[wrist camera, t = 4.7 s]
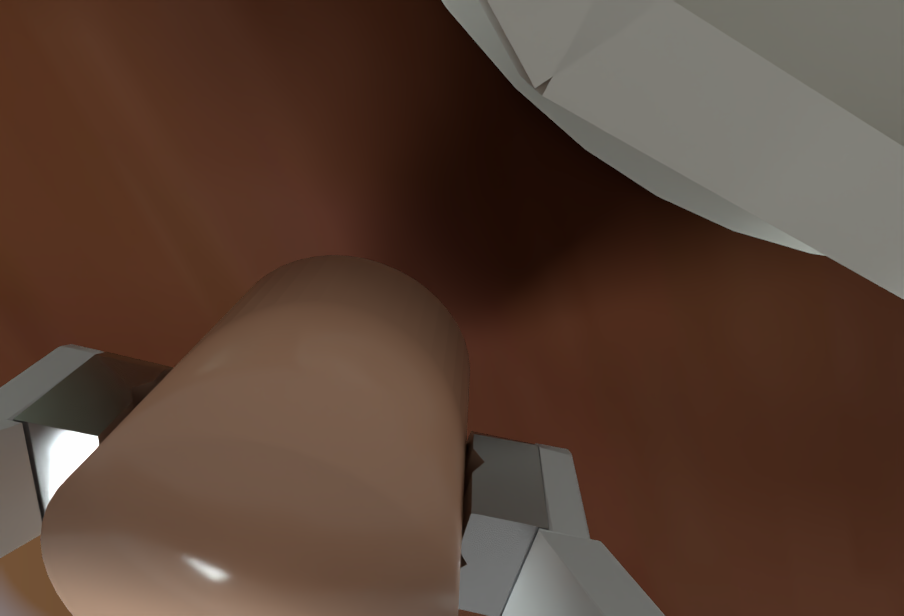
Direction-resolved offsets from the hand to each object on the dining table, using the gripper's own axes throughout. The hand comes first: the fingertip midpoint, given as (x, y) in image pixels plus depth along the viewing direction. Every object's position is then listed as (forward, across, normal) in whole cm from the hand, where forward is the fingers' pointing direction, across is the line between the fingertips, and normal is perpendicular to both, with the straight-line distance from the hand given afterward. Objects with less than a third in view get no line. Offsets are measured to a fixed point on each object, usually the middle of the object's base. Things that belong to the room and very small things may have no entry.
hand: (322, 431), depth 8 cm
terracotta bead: (+2, 0, 0) cm, 2 cm away
